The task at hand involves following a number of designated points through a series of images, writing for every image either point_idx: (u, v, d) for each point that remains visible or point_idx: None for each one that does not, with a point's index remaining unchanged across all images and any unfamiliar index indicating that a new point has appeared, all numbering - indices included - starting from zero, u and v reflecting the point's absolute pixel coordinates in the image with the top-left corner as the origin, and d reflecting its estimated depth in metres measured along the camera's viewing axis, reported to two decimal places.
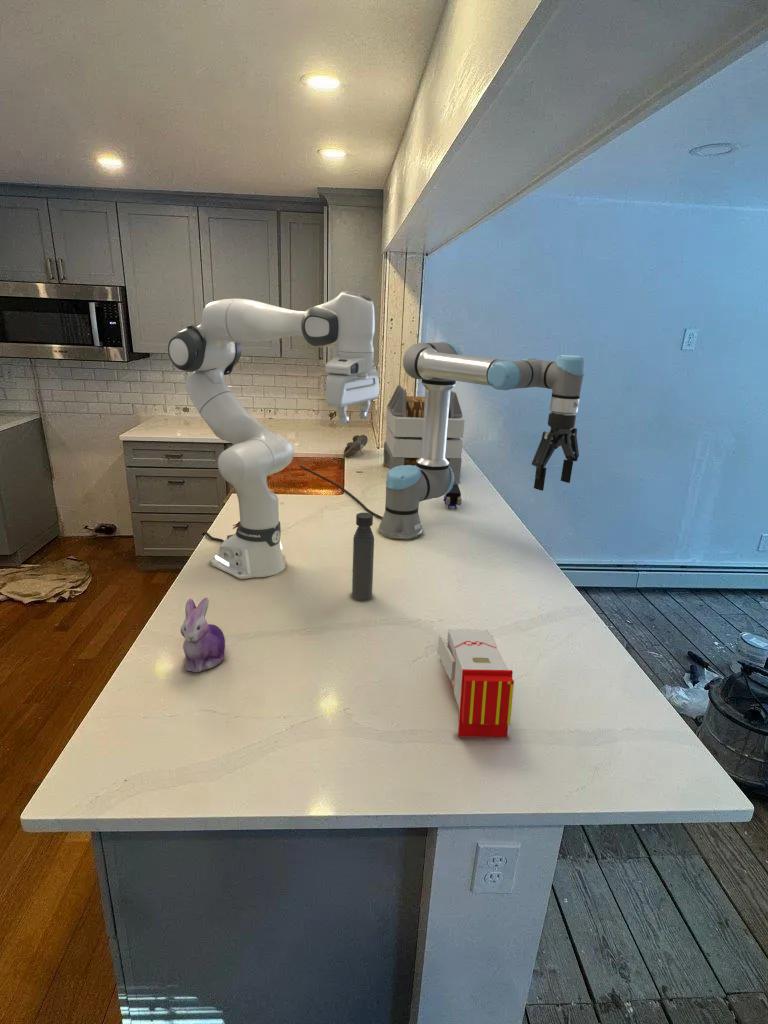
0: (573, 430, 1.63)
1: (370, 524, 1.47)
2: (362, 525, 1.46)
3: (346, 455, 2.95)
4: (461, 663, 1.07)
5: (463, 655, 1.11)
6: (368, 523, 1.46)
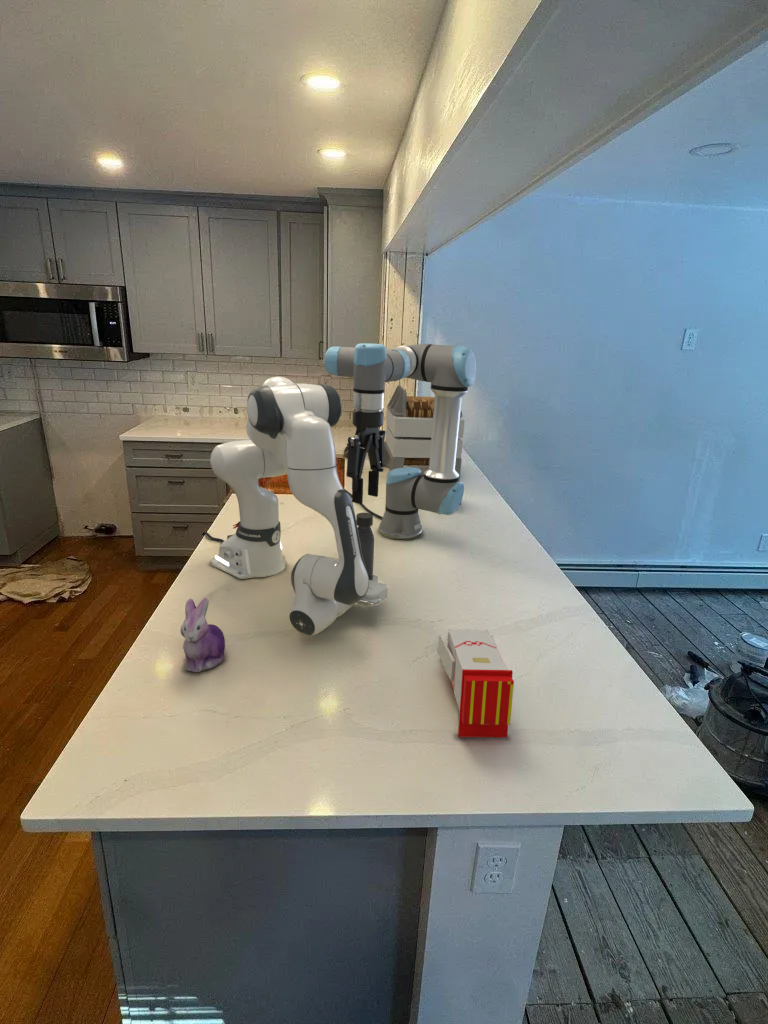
0: None
1: (370, 524, 1.47)
2: (362, 525, 1.46)
3: (346, 455, 2.95)
4: (461, 663, 1.07)
5: (463, 655, 1.11)
6: (368, 523, 1.46)
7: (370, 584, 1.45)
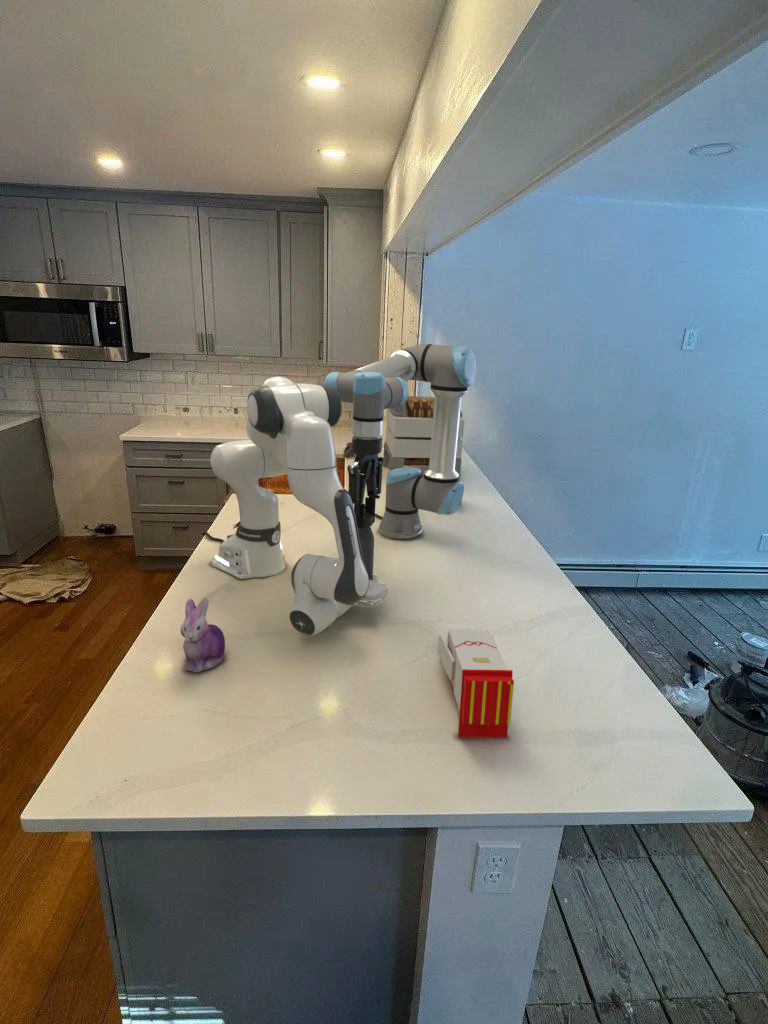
0: None
1: (370, 524, 1.47)
2: None
3: (346, 455, 2.95)
4: (461, 663, 1.07)
5: (463, 655, 1.11)
6: (368, 523, 1.46)
7: (370, 584, 1.45)
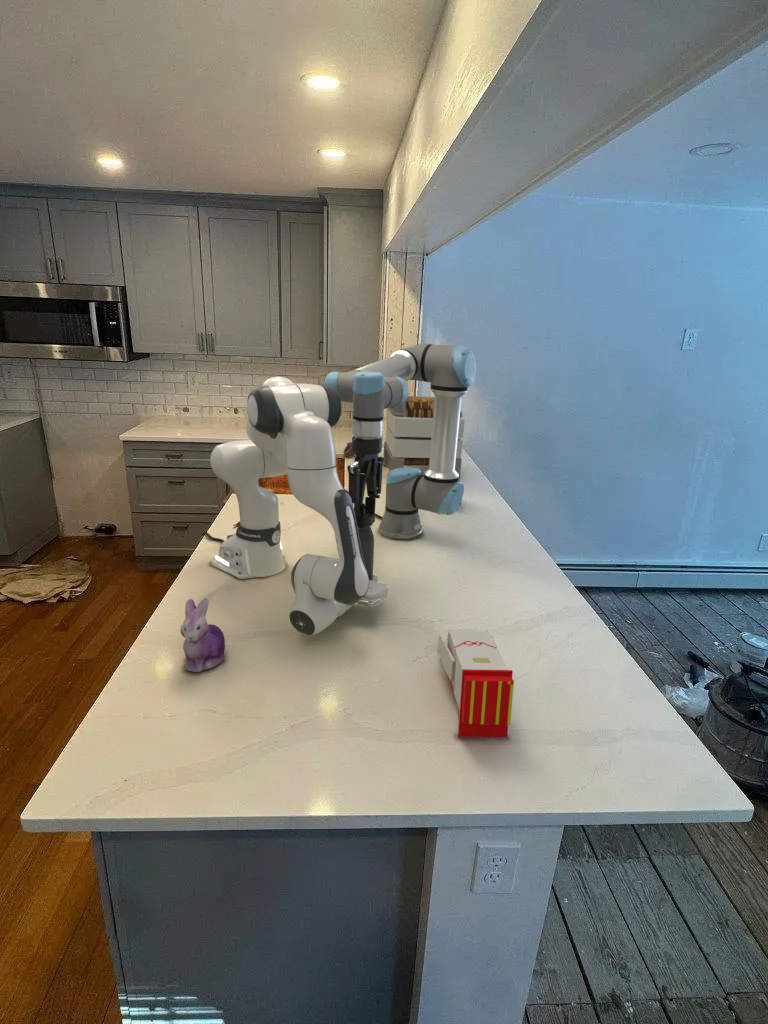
0: None
1: None
2: (372, 523, 1.48)
3: (346, 455, 2.95)
4: (461, 663, 1.07)
5: (463, 655, 1.11)
6: None
7: (370, 584, 1.45)
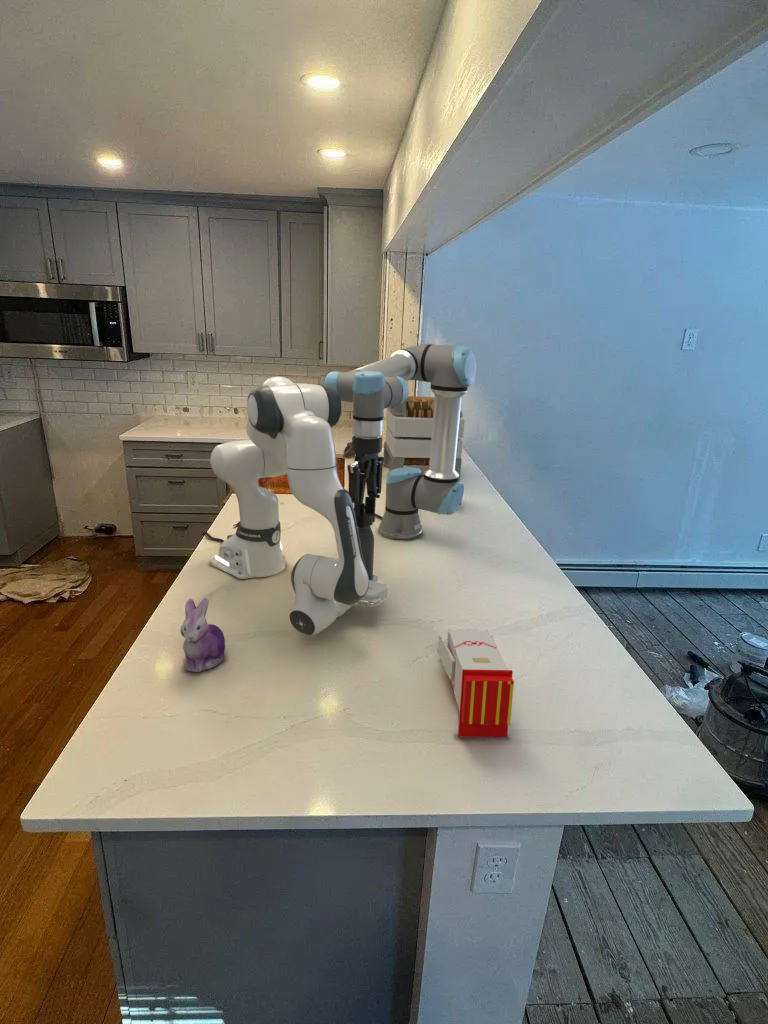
0: None
1: None
2: None
3: (346, 455, 2.95)
4: (461, 663, 1.07)
5: (463, 655, 1.11)
6: None
7: (370, 584, 1.45)
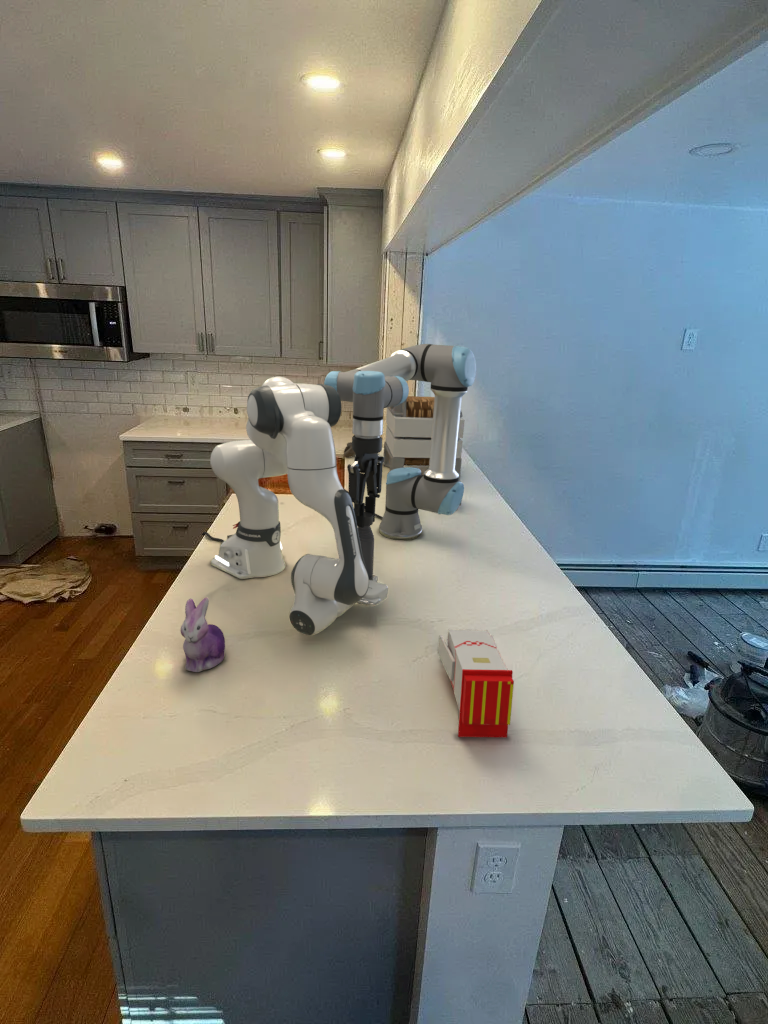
0: None
1: None
2: None
3: (346, 455, 2.95)
4: (461, 663, 1.07)
5: (463, 655, 1.11)
6: None
7: (370, 584, 1.45)
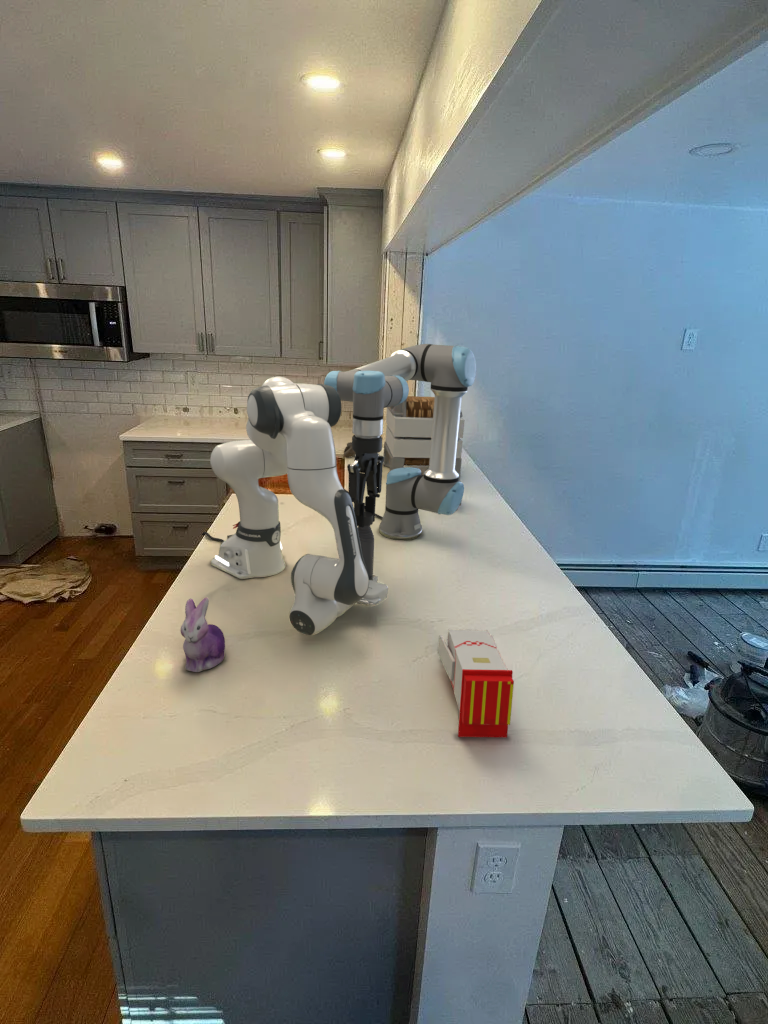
0: None
1: (369, 523, 1.47)
2: None
3: (346, 455, 2.95)
4: (461, 663, 1.07)
5: (463, 655, 1.11)
6: (367, 522, 1.46)
7: (370, 584, 1.45)
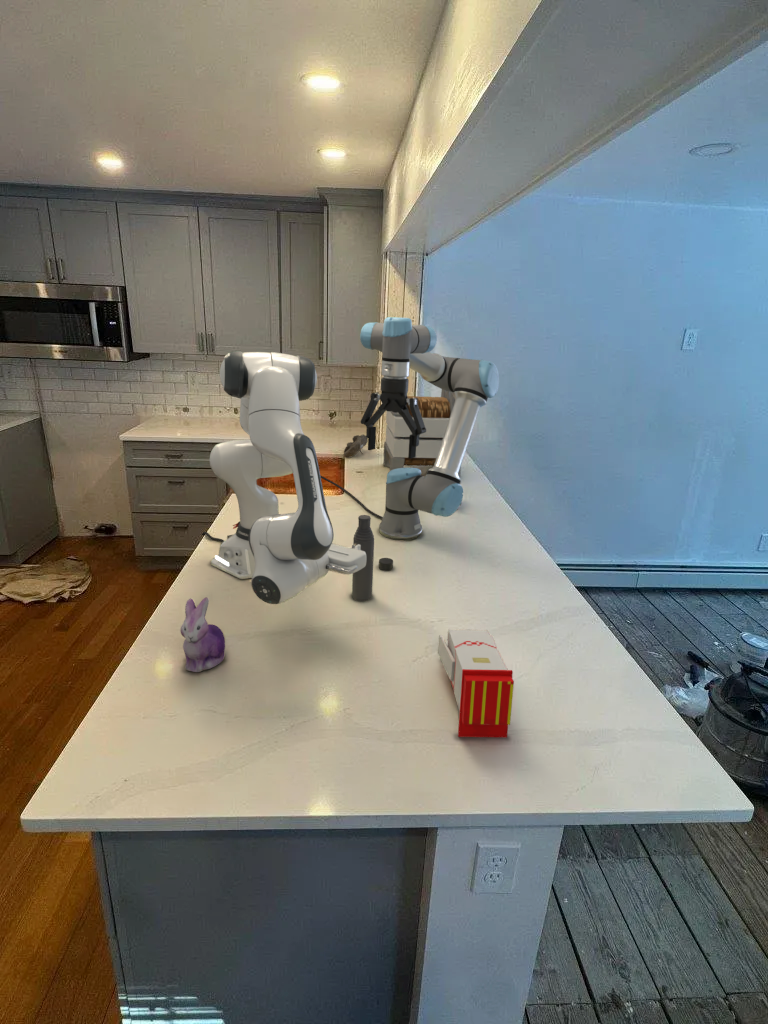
0: None
1: None
2: None
3: (346, 455, 2.95)
4: (461, 663, 1.07)
5: (463, 655, 1.11)
6: None
7: (347, 550, 1.30)
